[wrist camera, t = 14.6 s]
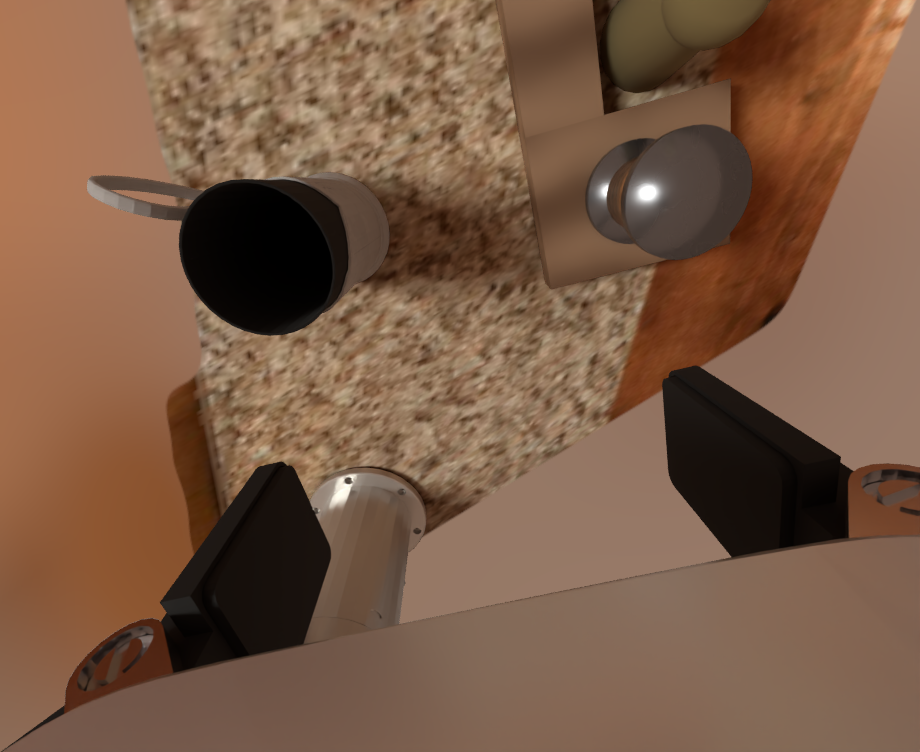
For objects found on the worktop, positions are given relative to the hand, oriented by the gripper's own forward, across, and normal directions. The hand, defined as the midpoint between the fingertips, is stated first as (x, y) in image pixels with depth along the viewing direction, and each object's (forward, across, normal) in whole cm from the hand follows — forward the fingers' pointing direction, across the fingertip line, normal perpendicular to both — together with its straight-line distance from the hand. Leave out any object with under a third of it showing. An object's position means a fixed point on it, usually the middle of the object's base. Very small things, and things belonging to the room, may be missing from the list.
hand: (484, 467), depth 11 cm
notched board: (+27, -14, -9) cm, 32 cm away
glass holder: (+28, +11, -8) cm, 31 cm away
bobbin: (+25, -14, -4) cm, 29 cm away
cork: (+27, -17, -13) cm, 34 cm away
